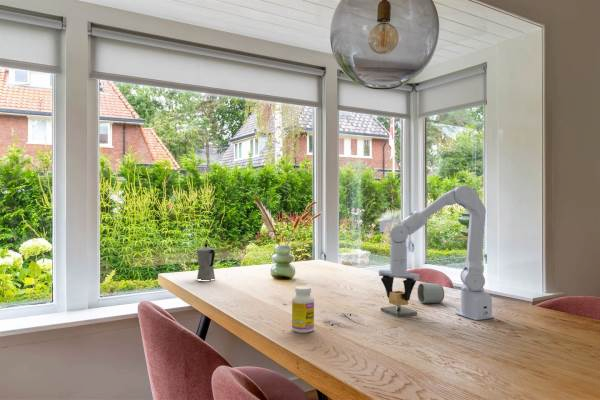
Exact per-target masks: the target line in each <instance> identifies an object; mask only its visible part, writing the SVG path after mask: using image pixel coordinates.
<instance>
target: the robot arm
mask: <svg viewBox="0 0 600 400" xmlns="http://www.w3.org/2000/svg"><path fill="white" fill-rule="evenodd" d="M452 205H459V206H461V207H463V209H465V210H466V211H467V213H468V214H469V217H468V218H469V219H468V220H469V222H468V231H467V245H466V256H465V261H464V266H463V269H462V271H461V272H460V280H461V282H462V283H463V284H462V285H461V287H460V290H461V291H460V309H461V310H460V311H456V312H455V315H459V316H462V317H464V318H468V319H471V320H473V321H481V320H487V319H493V318H494V315H493V310H492V309H493V301H492V300H493V299H492V296H491V294H490V293H489V292H486V291H485V288H484V286H485V285H486V279H485V276H484V273H483V272H484V266H483V262H482V260H483V259H482V258H483V249H484V248H483V247H484V238H485V237H484V235H485V227H486V226H485V225H486V214H487V213H486V212H487V210H486V209H487V208H486V206H485V205H484V203H483V202H482V200H481V198H480V196H479V193H478V192H477V190H475V189H474V188H473V187H471V186H470V185H466V184H462V185H457V186H455V187H454V188H453V189H450V190H449V191H447V192H445V193H443V194H442V195H440V196H439V197H438V198H437V199H435V200H434V201H432V202H431V203H430V204H428V206H426V207H425V208H423V209H422V210H421V211H418V210H414V211H410V212H409V213H408V216H406V217H404V218H403V219H402V220H398V221H397V224H395V225H393V226H392V227H391V228H390V230H389V236H390V247H389V270H387V269H380V270H378V277H381V278H380V280H381V282H382V284H383V286H384V289H385V292H386V296H387V298H388V299H389V292H391V291H393V287H394V286H393V284H394V281H395V279H404V280H402V282H403V288H404V292H405V301H408V302H409V301H410V299H411V294H412V291H413V289H414V286H415V285H416V283H417V281H419V280H420V274H419V273H414V272H409V271H408V264H407V263H408V248H407V247H408V246H407V239H408V236H411V235H413V234H414V233H416V232H417V231H418V230H420V229H421V228H422V227H424V226H425V225H426V223H427V220H428V218H430V217H431V216H433V215H434V214H436V213H438V212H439V211H440V210H442V209H443V208H445V207H446V206H452Z"/></svg>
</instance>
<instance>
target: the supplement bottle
mask: <svg viewBox="0 0 600 400" xmlns="http://www.w3.org/2000/svg"><path fill="white" fill-rule="evenodd" d="M294 292H295V295H294V296H292V299H291V329H292V332H295V333H299V334H300V333H301V334H304V333H305V334H306V333H311V332H313V331H314V329H315V298H314V297H313V296H312V295H311V292H312V287H310V286H306V285H302V286H300V285H299V286H296V287H295V291H294Z"/></svg>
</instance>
